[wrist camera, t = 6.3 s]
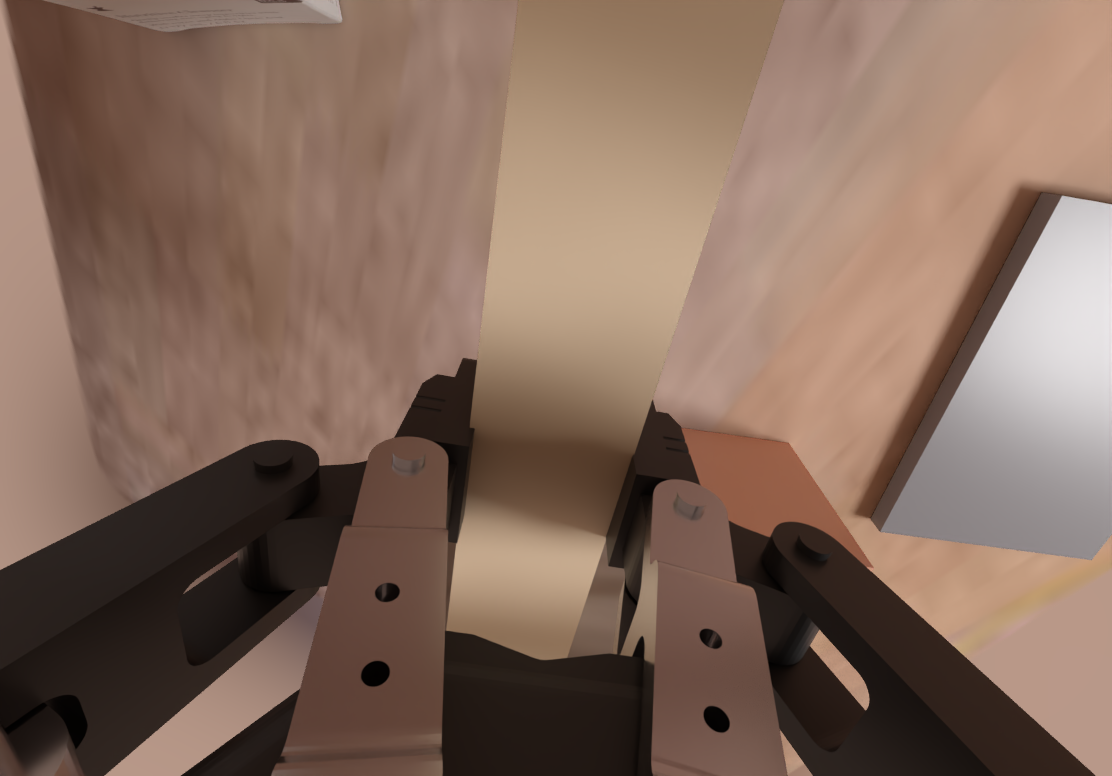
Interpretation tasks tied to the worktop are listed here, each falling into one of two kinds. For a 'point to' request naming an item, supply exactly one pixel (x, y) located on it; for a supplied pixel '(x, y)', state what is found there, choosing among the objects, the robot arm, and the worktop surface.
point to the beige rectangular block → (588, 293)
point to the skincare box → (209, 12)
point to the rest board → (1024, 403)
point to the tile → (764, 485)
